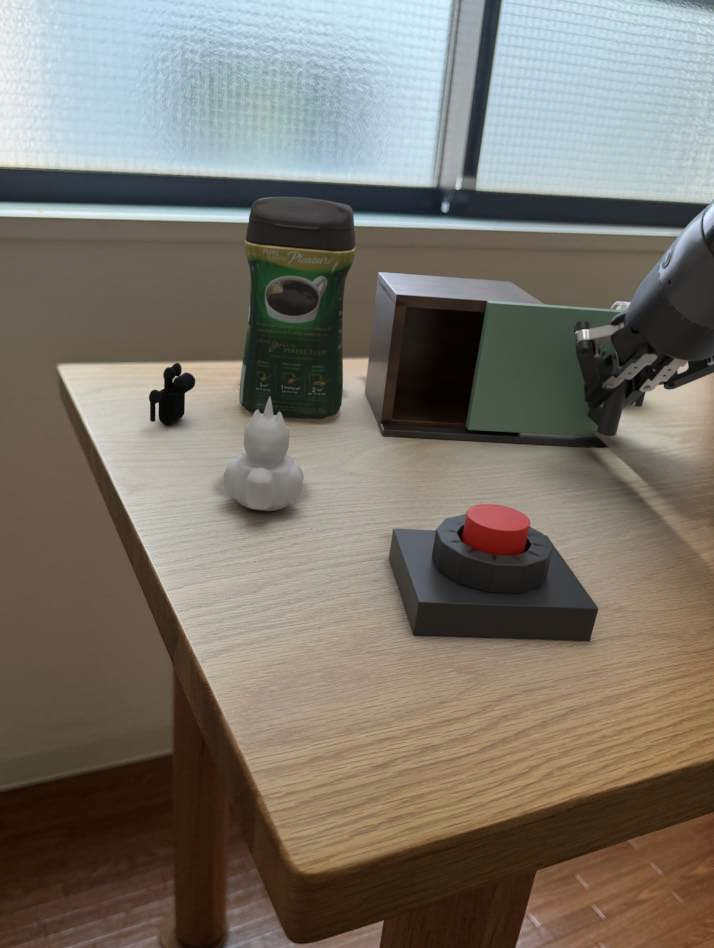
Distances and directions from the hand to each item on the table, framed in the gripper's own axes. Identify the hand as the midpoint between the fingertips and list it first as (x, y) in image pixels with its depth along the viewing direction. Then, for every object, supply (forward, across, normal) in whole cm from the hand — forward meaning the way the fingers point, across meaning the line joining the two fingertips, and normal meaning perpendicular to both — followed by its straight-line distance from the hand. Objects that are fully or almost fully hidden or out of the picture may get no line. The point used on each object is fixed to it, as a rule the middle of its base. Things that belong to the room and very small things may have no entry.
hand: (604, 398), depth 74 cm
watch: (+12, +6, +5) cm, 15 cm away
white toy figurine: (-7, -30, -15) cm, 34 cm away
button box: (-15, -17, -22) cm, 32 cm away
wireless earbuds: (+5, -37, -2) cm, 37 cm away
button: (-18, -17, -20) cm, 32 cm away
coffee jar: (+9, -27, +2) cm, 28 cm away
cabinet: (+9, -8, +2) cm, 12 cm away
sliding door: (+3, -5, -3) cm, 6 cm away
